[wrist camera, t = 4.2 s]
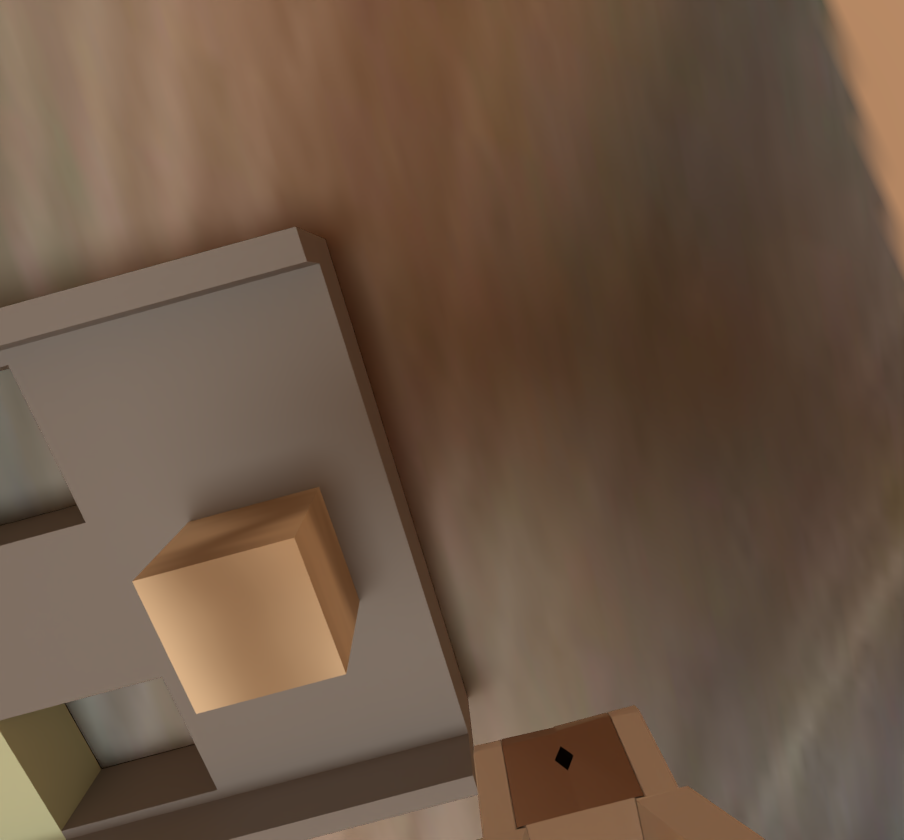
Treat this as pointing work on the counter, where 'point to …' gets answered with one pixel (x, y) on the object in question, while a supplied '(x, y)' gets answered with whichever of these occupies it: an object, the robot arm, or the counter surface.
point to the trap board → (195, 497)
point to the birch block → (253, 601)
